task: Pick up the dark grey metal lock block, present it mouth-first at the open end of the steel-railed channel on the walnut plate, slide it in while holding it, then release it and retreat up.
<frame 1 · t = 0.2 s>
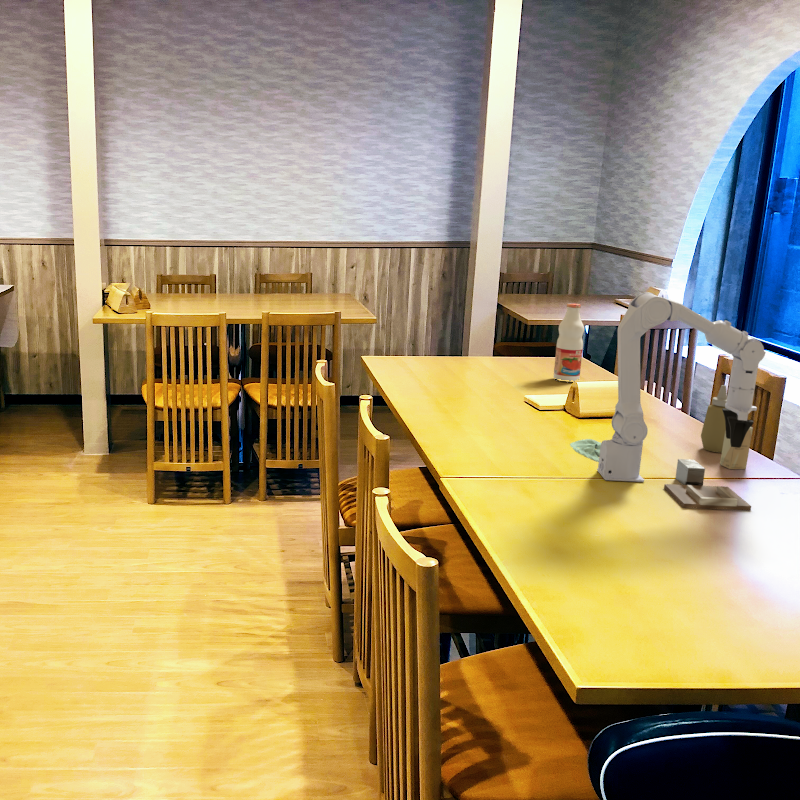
hand: (733, 442, 210), 10 cm above the table, fingers open, 7 cm apart
lock block: (688, 483, 209), on the table
squeeze bottle: (714, 450, 239), on the table
holder: (706, 498, 199), on the table
box: (732, 467, 225), on the table
fruit juice: (566, 380, 321), on the table
cloth: (605, 455, 231), on the table
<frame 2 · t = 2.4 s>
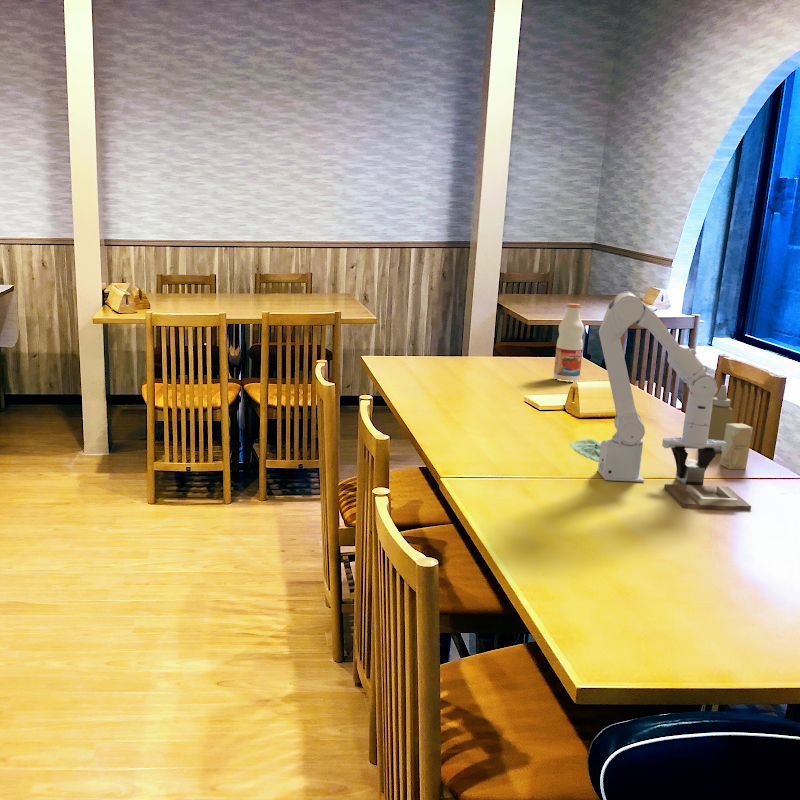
hand: (689, 477, 209), 1 cm above the table, fingers closed on lock block, 4 cm apart
lock block: (688, 483, 209), on the table, touching gripper
everything else where it was.
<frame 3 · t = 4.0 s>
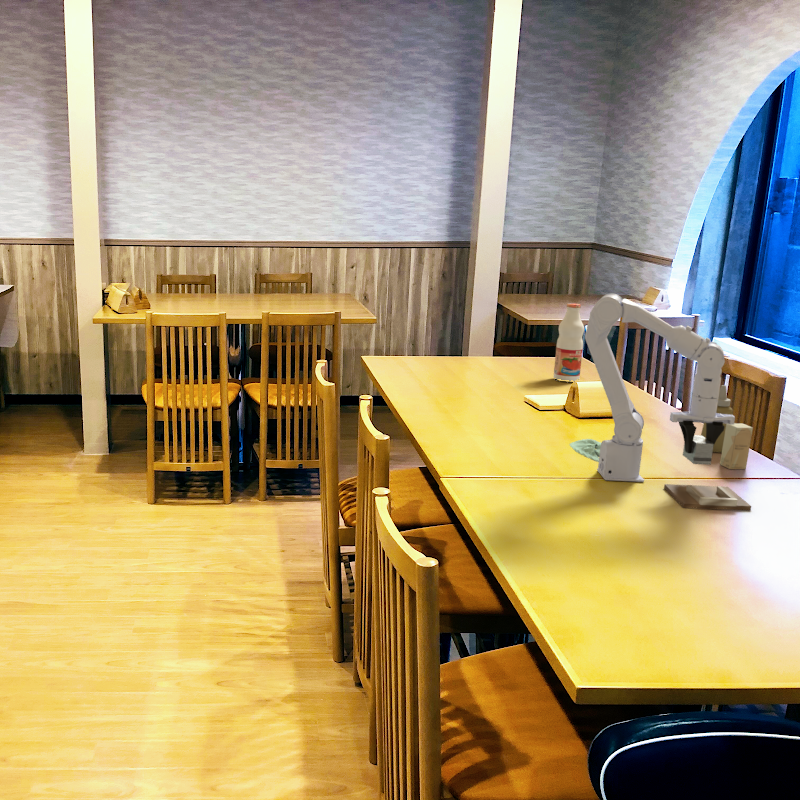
hand: (697, 452, 205), 8 cm above the table, fingers closed on lock block, 4 cm apart
lock block: (696, 459, 205), point 7 cm above the table, touching gripper
everything else where it was.
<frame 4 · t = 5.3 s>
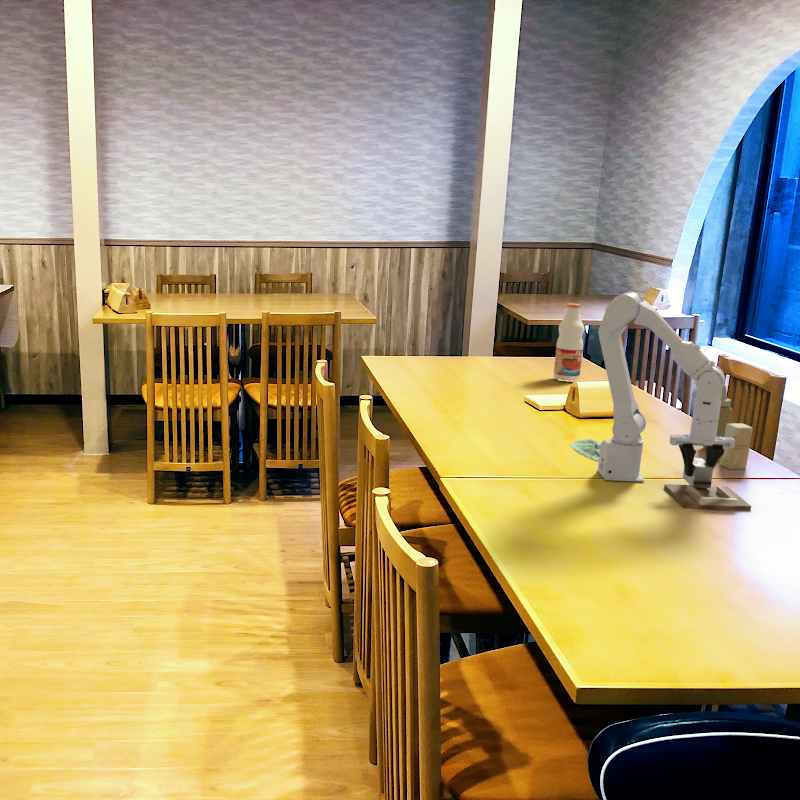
hand: (697, 475, 204), 3 cm above the table, fingers closed on lock block, 4 cm apart
lock block: (696, 482, 205), point 2 cm above the table, touching gripper
everything else where it was.
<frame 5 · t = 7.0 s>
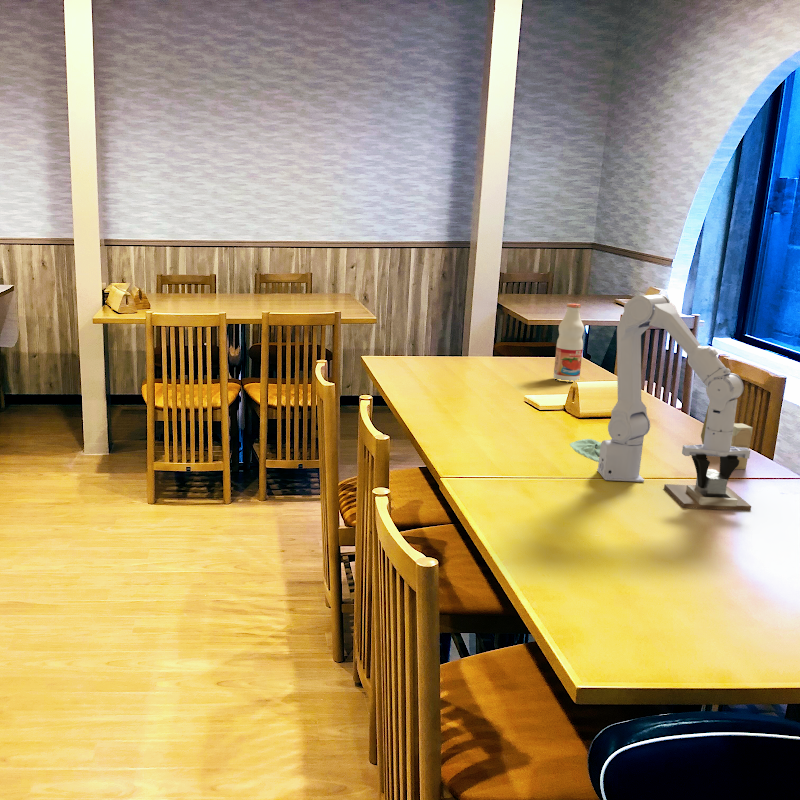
hand: (710, 487, 196), 3 cm above the table, fingers closed on lock block, 4 cm apart
lock block: (709, 495, 197), point 1 cm above the table, touching gripper
everything else where it was.
when the fingers open (3 cm above the table, at t = 8.3 s): lock block stays where it is, resting on holder.
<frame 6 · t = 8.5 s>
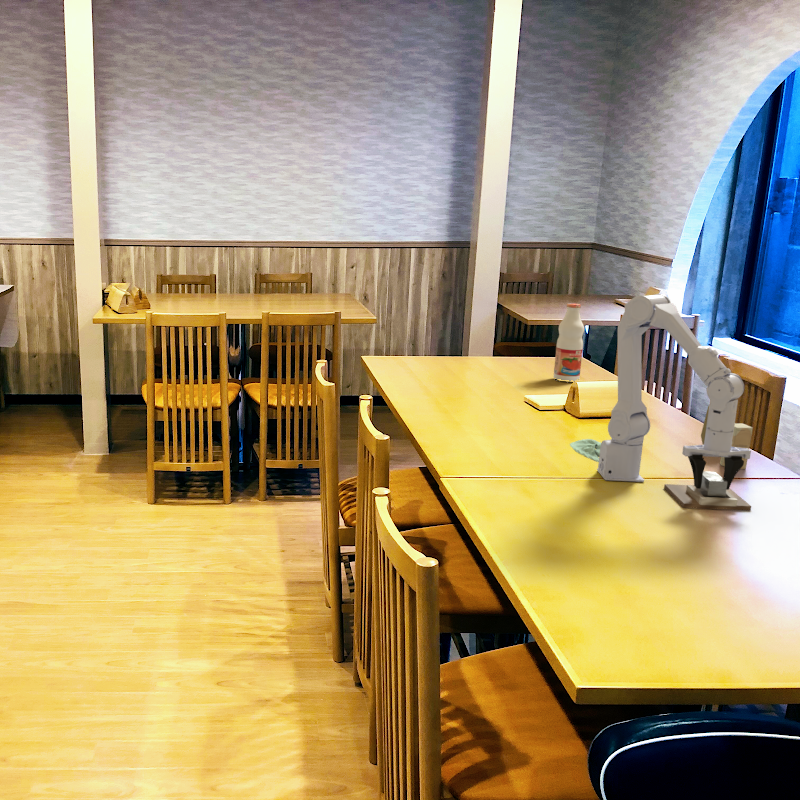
hand: (711, 487, 196), 3 cm above the table, fingers open, 6 cm apart
lock block: (709, 497, 197), point 1 cm above the table, touching holder
everything else where it was.
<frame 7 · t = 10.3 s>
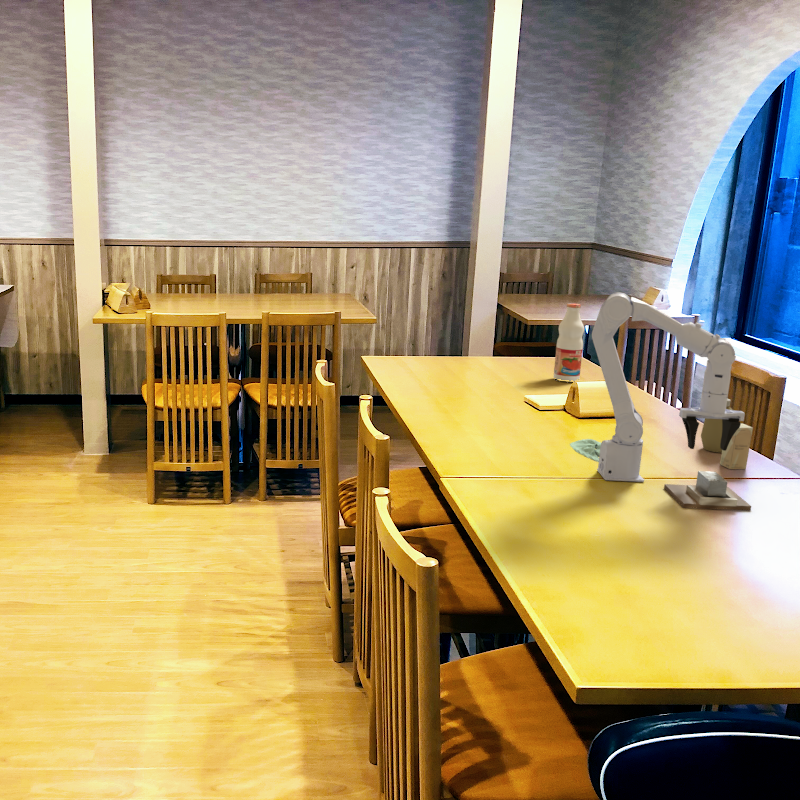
hand: (707, 448, 205), 9 cm above the table, fingers open, 7 cm apart
nothing on the table moved.
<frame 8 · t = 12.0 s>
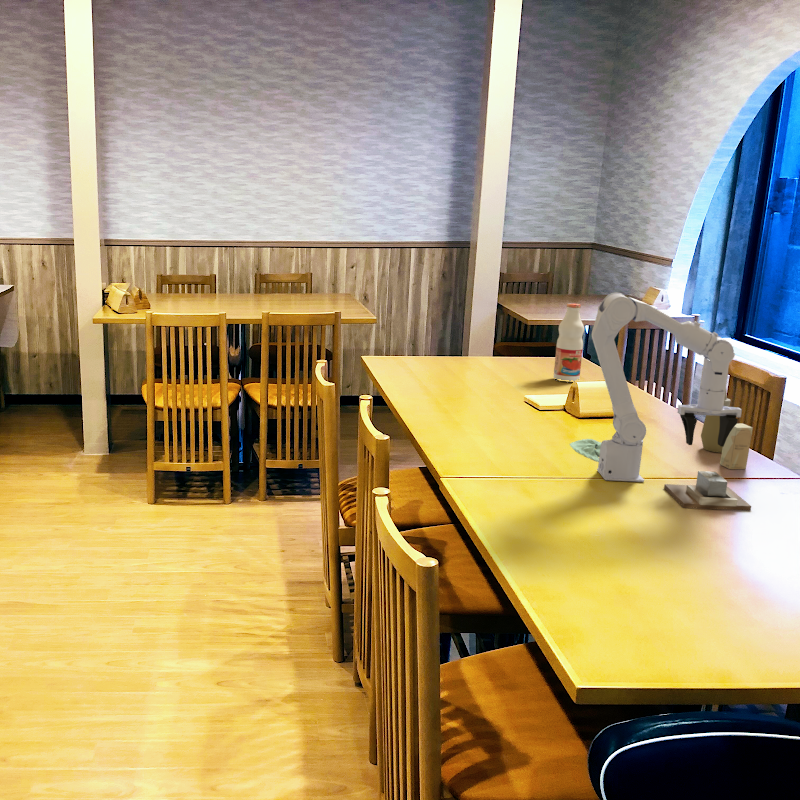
hand: (704, 444, 208), 9 cm above the table, fingers open, 7 cm apart
nothing on the table moved.
at the end: lock block 0.4 cm from the target spot on the holder, point 1.0 cm above the holder's base; lock block tilted 0°; the gripper is holding nothing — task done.
